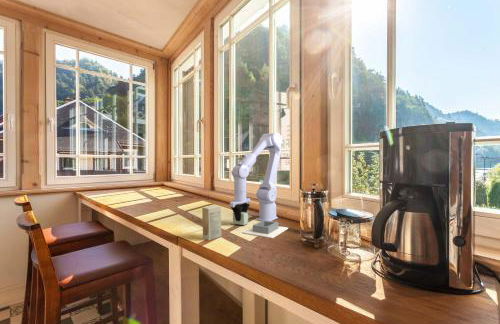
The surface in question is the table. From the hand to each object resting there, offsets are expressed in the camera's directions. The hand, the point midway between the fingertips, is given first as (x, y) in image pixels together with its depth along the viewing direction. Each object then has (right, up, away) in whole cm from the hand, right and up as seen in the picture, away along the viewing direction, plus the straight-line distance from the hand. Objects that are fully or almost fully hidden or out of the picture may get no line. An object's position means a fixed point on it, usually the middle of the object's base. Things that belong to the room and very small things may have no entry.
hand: (240, 219), depth 118 cm
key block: (0, -2, 0) cm, 2 cm away
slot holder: (+11, -2, -10) cm, 15 cm away
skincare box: (-11, -3, -19) cm, 22 cm away
